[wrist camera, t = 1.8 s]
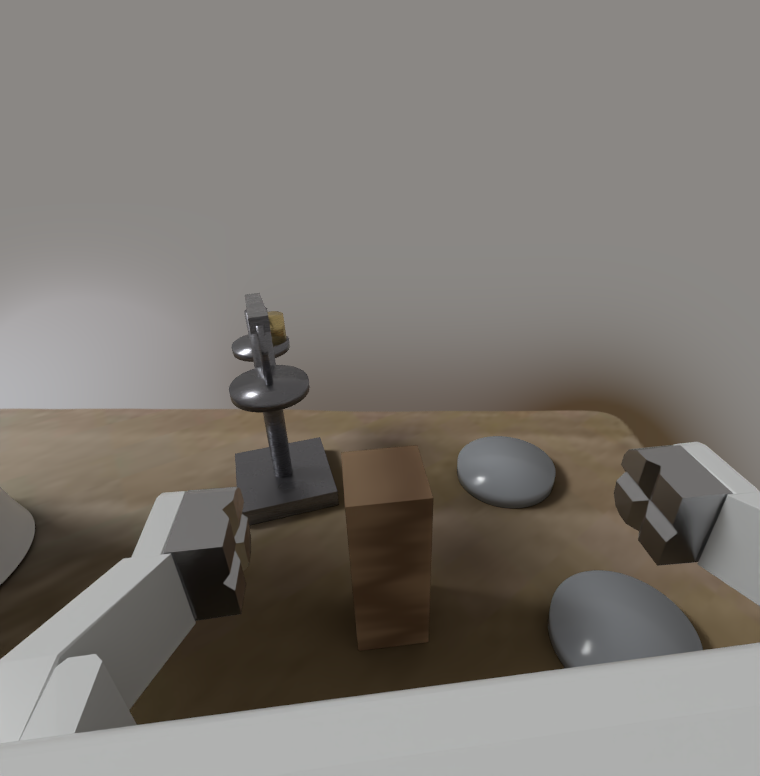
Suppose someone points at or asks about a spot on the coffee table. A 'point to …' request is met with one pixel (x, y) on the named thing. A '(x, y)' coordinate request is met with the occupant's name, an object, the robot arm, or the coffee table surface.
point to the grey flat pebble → (505, 472)
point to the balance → (276, 426)
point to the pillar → (389, 544)
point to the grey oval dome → (615, 621)
